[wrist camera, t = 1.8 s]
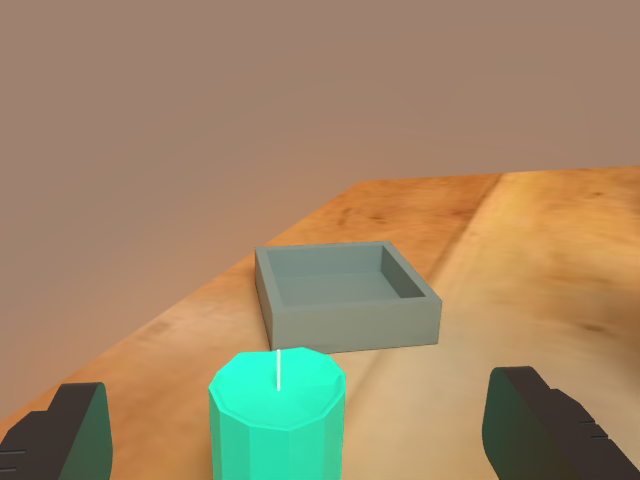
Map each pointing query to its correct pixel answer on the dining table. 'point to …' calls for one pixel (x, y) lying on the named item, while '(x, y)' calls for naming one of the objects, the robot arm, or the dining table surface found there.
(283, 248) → the tray
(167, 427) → the dining table surface
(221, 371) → the candle
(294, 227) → the dining table surface
